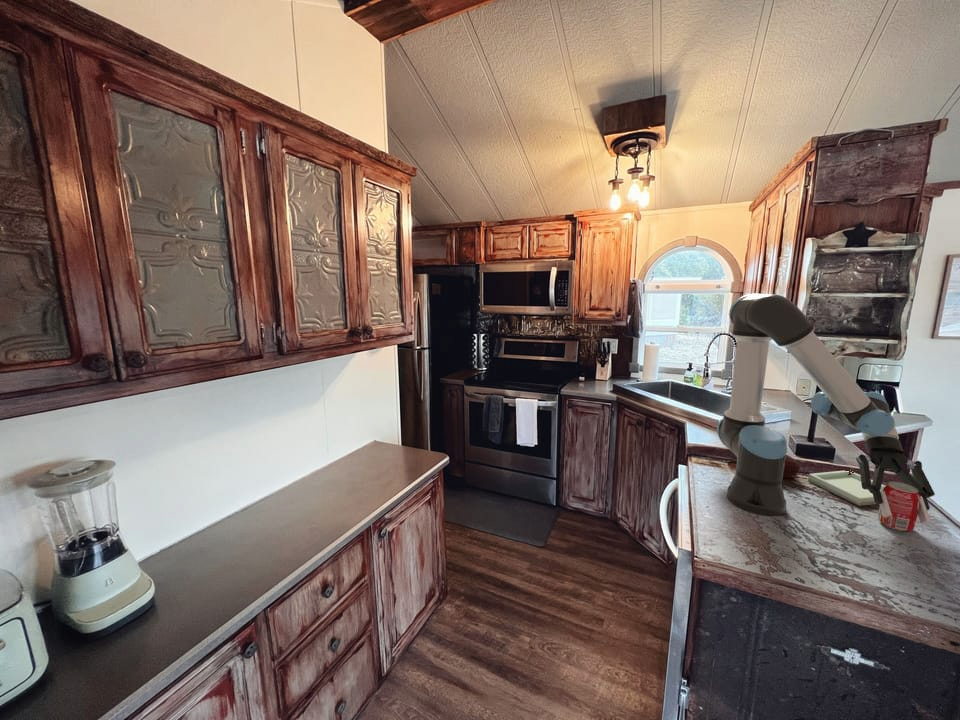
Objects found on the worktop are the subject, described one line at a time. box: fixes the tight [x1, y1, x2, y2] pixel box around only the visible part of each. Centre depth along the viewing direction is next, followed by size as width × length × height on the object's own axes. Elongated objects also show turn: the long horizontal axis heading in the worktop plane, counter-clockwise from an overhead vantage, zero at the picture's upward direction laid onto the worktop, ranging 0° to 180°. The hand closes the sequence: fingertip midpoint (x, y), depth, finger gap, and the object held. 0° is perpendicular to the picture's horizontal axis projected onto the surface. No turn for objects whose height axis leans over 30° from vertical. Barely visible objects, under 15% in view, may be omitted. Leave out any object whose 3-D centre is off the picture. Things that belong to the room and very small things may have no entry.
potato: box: [783, 454, 801, 478], centre depth 135 cm, size 12×11×8 cm
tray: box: [807, 470, 886, 507], centre depth 125 cm, size 16×16×2 cm
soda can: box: [878, 481, 920, 532], centre depth 105 cm, size 7×7×12 cm
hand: (906, 518), depth 103 cm, fingers closed on soda can, 7 cm apart
